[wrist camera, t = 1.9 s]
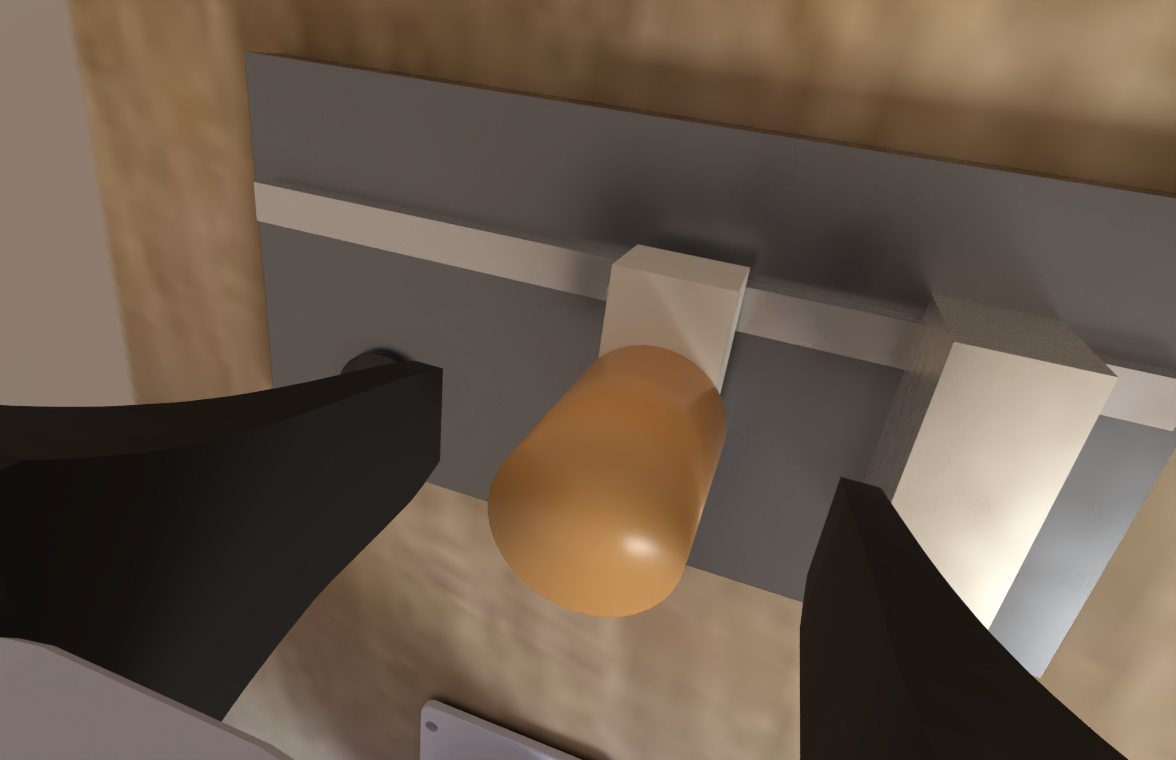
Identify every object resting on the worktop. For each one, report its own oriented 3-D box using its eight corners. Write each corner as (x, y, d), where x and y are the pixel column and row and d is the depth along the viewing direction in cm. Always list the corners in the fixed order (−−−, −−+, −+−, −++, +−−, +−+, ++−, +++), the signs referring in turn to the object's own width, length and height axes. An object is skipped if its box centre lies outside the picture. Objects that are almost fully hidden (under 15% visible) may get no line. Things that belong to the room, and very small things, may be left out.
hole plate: (1028, 642, 17) (1080, 791, 14) (303, 418, 22) (199, 482, 19) (1269, 209, 12) (1450, 257, 9) (279, 53, 18) (134, 44, 14)
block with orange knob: (707, 524, 17) (646, 729, 11) (586, 487, 18) (475, 663, 12) (771, 268, 14) (730, 380, 9) (623, 237, 15) (500, 323, 9)
